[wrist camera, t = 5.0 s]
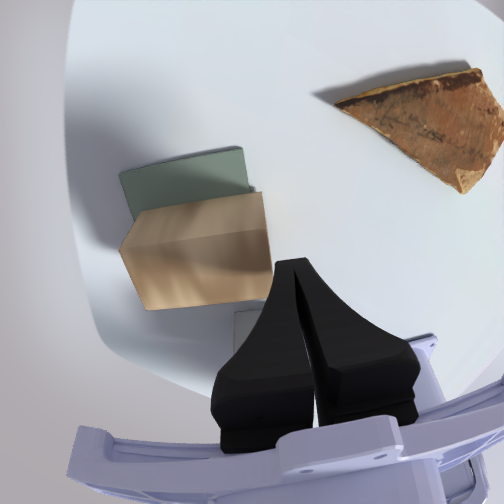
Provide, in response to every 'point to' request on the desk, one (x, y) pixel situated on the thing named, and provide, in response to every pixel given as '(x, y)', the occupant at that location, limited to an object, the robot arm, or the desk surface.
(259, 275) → the oak block
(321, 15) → the desk surface
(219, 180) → the mat
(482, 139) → the shard
